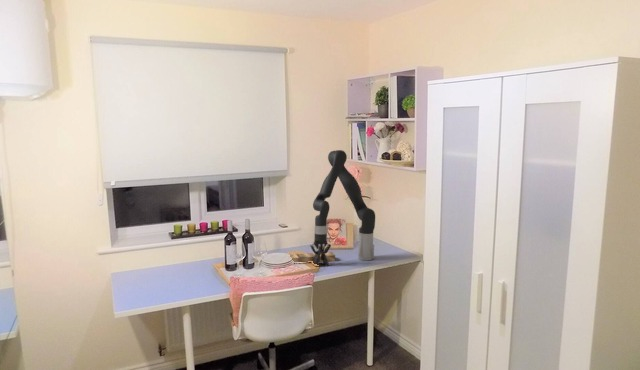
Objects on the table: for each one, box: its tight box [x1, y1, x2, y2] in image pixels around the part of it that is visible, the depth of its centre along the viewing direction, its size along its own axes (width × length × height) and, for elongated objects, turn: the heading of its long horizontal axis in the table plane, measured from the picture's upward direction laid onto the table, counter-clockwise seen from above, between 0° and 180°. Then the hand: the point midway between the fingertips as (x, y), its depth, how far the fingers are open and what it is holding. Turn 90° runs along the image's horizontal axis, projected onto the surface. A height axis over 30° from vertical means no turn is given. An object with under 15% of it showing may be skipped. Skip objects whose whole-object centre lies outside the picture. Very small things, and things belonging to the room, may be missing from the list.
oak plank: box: [289, 251, 336, 263], centre depth 282 cm, size 28×8×4 cm, turn 106°
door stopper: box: [313, 246, 329, 267], centre depth 273 cm, size 9×6×12 cm, turn 106°
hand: (320, 260), depth 274 cm, fingers closed on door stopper, 1 cm apart
